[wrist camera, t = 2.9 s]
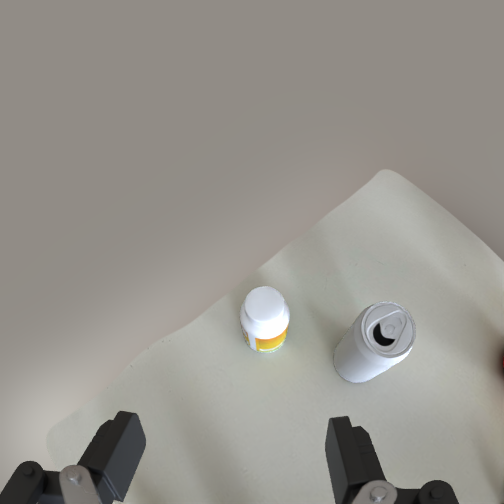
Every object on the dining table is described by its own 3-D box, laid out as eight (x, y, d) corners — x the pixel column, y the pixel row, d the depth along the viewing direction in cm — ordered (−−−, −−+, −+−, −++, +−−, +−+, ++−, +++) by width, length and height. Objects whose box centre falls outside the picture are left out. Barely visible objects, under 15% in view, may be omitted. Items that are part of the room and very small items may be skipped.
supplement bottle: (294, 327, 38) (301, 295, 30) (271, 361, 36) (273, 339, 28) (259, 306, 40) (256, 270, 32) (235, 339, 38) (226, 310, 30)
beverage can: (321, 357, 36) (343, 326, 26) (357, 326, 38) (387, 285, 28) (354, 394, 33) (390, 376, 23) (388, 360, 35) (431, 329, 25)
